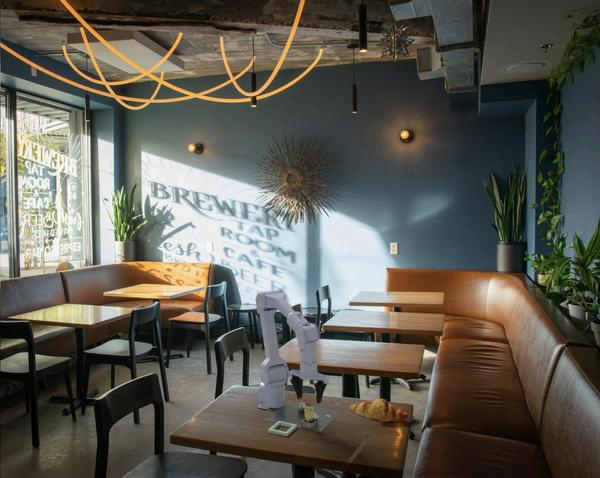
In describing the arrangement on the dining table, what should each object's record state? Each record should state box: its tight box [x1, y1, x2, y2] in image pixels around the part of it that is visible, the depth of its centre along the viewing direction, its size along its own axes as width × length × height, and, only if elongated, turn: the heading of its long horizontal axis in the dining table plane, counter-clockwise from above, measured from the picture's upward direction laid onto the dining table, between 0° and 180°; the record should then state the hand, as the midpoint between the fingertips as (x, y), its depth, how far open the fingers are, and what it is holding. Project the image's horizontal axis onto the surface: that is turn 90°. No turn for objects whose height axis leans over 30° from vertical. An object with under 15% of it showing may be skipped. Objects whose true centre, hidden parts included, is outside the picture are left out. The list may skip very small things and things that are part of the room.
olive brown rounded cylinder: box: [305, 405, 313, 423], centre depth 168 cm, size 3×3×6 cm
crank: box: [297, 401, 319, 419], centre depth 174 cm, size 14×3×5 cm, turn 23°
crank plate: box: [263, 400, 342, 433], centre depth 176 cm, size 22×18×3 cm
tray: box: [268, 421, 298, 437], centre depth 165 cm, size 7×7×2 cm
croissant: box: [350, 398, 409, 423], centre depth 176 cm, size 21×10×8 cm
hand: (309, 400), depth 167 cm, fingers open, 7 cm apart
